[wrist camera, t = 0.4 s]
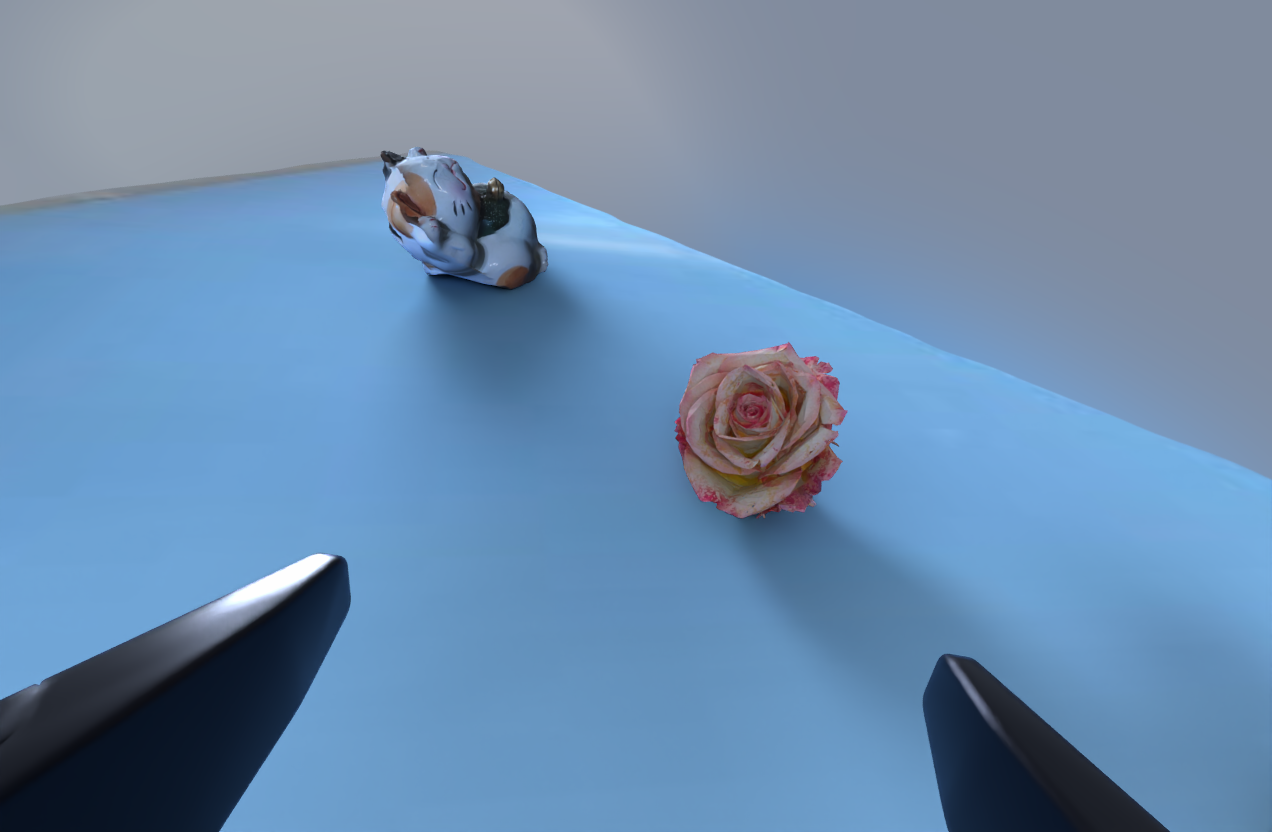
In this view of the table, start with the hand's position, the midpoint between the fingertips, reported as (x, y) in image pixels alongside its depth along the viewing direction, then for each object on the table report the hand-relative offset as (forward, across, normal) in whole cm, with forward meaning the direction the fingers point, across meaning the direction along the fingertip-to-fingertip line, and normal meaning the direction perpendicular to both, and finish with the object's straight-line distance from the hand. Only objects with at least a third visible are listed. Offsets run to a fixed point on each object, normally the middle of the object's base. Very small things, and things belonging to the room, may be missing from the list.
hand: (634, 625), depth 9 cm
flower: (+24, -5, +11) cm, 27 cm away
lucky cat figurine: (+54, +21, +8) cm, 58 cm away
